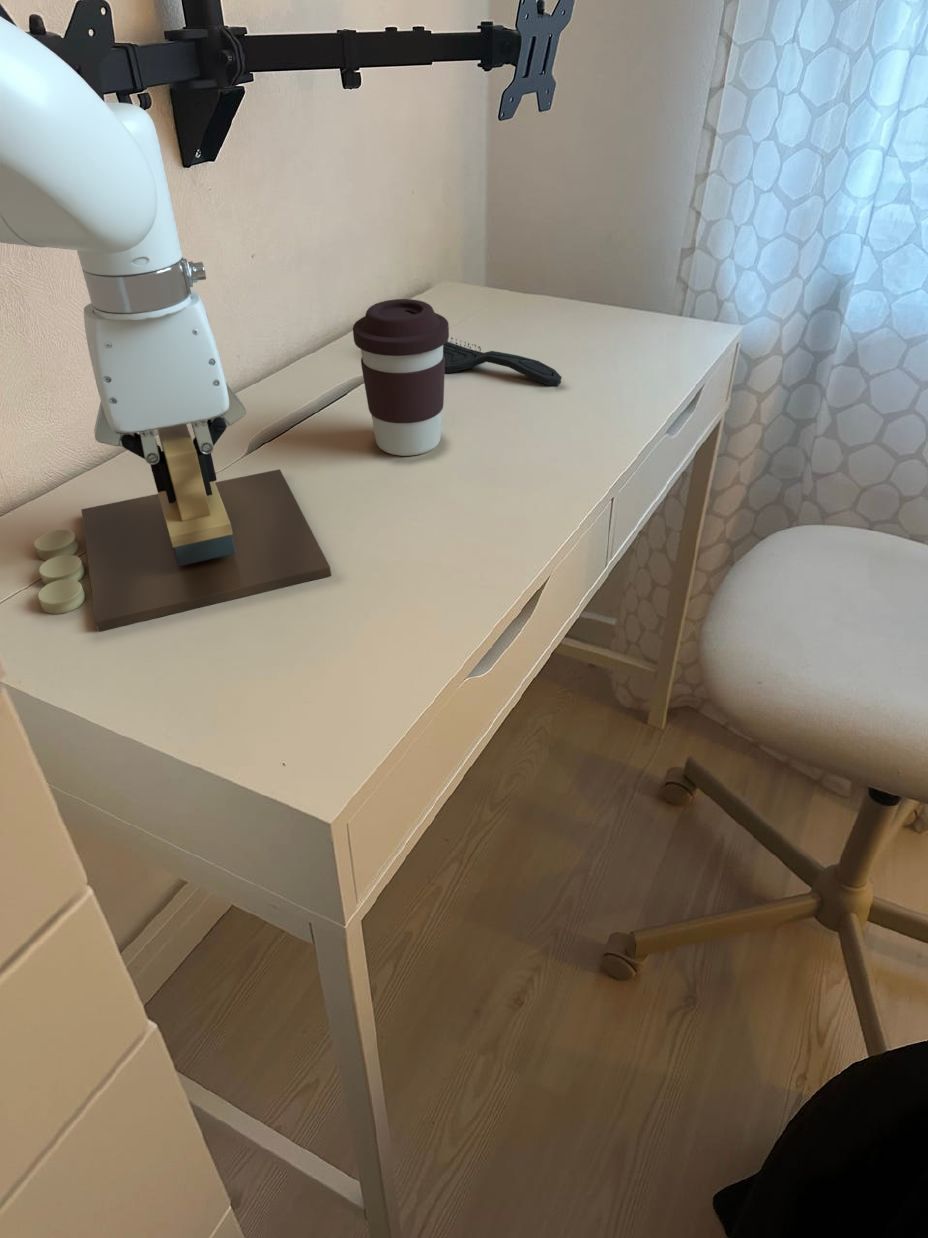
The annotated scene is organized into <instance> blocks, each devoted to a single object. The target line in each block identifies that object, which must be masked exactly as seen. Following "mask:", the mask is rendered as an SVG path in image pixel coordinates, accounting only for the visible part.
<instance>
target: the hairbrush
mask: <svg viewBox="0 0 928 1238" xmlns="http://www.w3.org/2000/svg"><path fill="white" fill-rule="evenodd" d="M450 338H451V340H454V337H450ZM455 341H456V342H455V343H454V342H451V341H449V339H448V340H447V342H446V343H445V344H444V345H443V353H444V356H445V373H446V374H447V373H449V374H450V373H455V372H459V371H463V370H468V369H472V368H474V367H477V366H479V365H482V364H484V363H490V364H494V365H498V366H503V367H506V368H509V369H512V370H514V371H515V372H517V373H520V374H522V375H523V376H525V377H527V378H529V379H532V380H534V381H537V382H539V383H542V384H544V385H547V386H555V387H559V386H560V384H561V383H562V375H560V373H558V371H557V370H556V369H554V368H553V367H551V366H549V365H547V364H545V363H543V362H541V361H540V360H538V359H537V360H536V359H533V358H529V357H525V356H521V355H517V354H512V353H507V352H501V351H496V350H489V351H485V352H482V349H481V348H482V347H481V346H480V345H478V346H477V344H475V343H474V344H471V346H474V347H475V348H477V349H478V350H477V349H472V347H471V346H470V343H469V342H466V341H464V345H462V340H460V341H459V342H460V343H459V345H458V342H457V341H458V340H457V338H455ZM466 343H467V346H466ZM445 373H444V374H445Z"/></svg>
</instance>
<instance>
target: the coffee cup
mask: <svg viewBox="0 0 928 1238" xmlns="http://www.w3.org/2000/svg"><path fill="white" fill-rule="evenodd" d="M449 326H450V324H449V321H448V319H447V318H446V317H444V316H443V315H441V314H439V313H437V312H435V310H434V307H432V305H431V304H429V303H427V302H426V301H423V300H417V299H412V298H411V299H410V298H396V299H389V300H388V299H387V300H383V301H379V302H377V303H374V304H372V305H371V306H370V307H368V308H367V310H366V312H365V315H364V316H362V317H361V318H359V319H358V320H357V321H355V323H354V324H353V326H352V335H353V336H352V337H353V342H354V345H355V346H356V347H357V348H359V349H360V353H361V358H360V365H361V372H362V378H363V384H364V389H365V395H366V402H367V407H368V408H367V409H368V411H369V413H370V415H371V420H372V425H373V432H374V438H375V442H376V445H377V447H378V448H379V449H380V450H382V451H383V452H385V453H387V454H390V455H395V456H403V457H407V456H408V457H409V456H418V455H421V454H422V455H423V454H425V453H428V452H430V451H432V450H434V449H435V448H436V447H437V446H438V445H439V443H440V441H441V436H442V411H443V409H444V402H445V401H444V400H445V399H444V398H445V356H444V353H443V345H444V344H445V343H446V342H448V341H449V337H450V327H449ZM447 340H448V341H447Z"/></svg>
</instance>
